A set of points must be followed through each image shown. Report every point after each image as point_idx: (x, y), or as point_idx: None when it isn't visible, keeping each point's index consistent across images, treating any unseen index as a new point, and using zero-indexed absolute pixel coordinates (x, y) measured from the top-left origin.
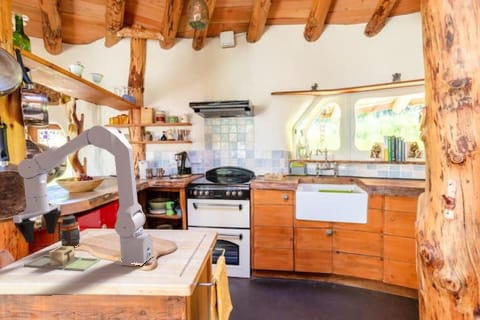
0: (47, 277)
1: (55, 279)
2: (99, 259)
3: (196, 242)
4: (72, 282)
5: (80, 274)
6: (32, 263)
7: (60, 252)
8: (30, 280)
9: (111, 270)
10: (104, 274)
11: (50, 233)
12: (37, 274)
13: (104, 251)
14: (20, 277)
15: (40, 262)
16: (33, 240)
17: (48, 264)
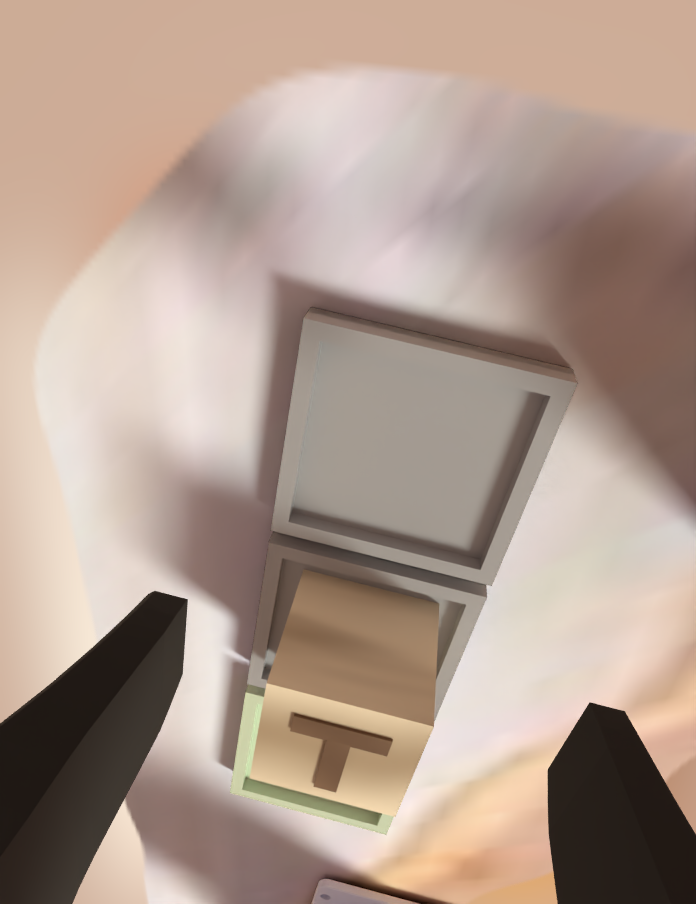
0: None
1: None
2: (374, 829)
3: None
4: None
5: (204, 762)
6: (370, 365)
7: (251, 769)
8: (87, 531)
9: (259, 865)
10: (214, 848)
11: (567, 744)
12: (178, 527)
13: None
14: (114, 424)
15: (387, 439)
16: (170, 699)
17: (303, 561)
